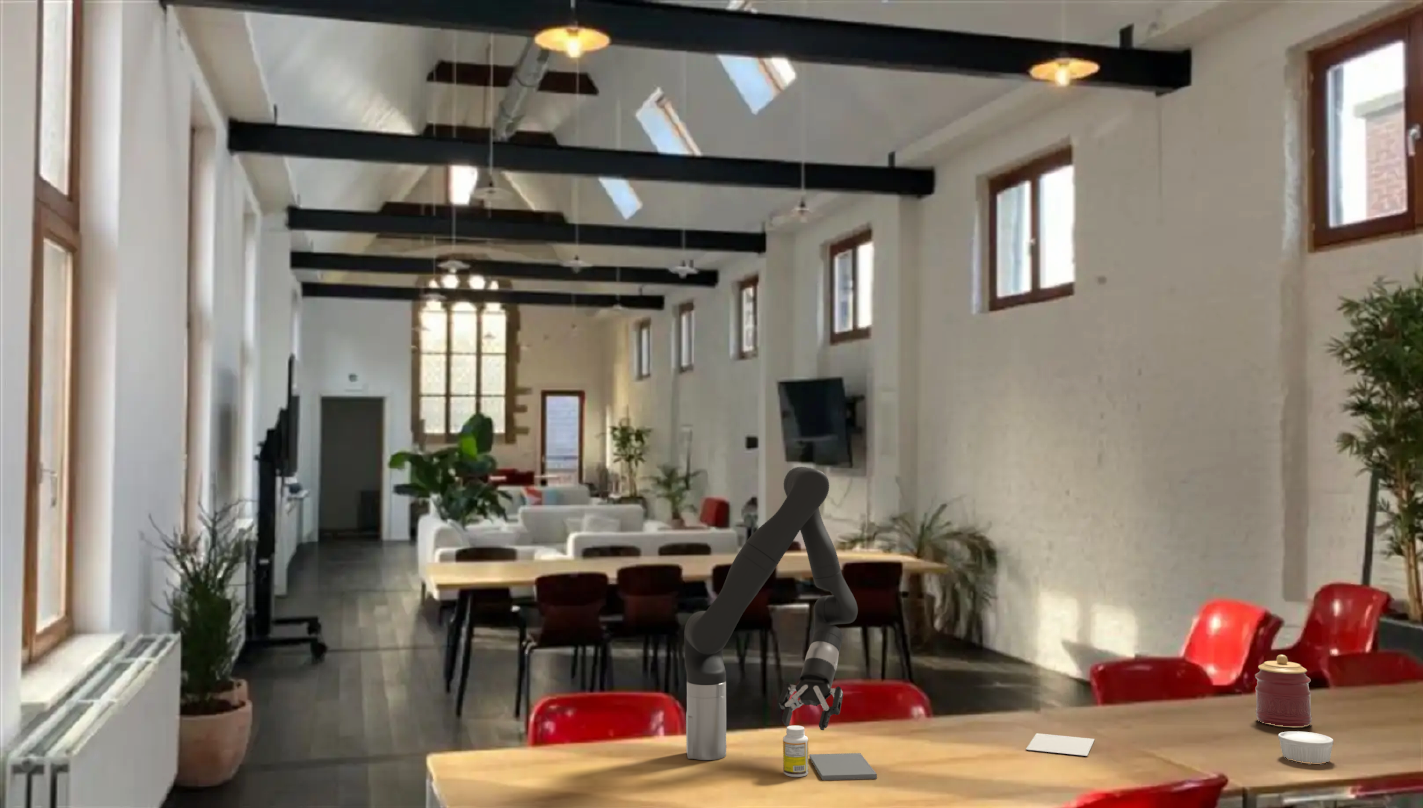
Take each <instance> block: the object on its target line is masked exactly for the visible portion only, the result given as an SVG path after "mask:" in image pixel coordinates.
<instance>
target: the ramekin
mask: <svg viewBox="0 0 1423 808" xmlns="http://www.w3.org/2000/svg"><path fill="white" fill-rule="evenodd" d="M1277 736H1278V737H1277V738H1278V740H1279V744H1280V749H1281V753H1282V756H1283V757H1284V758H1285V757H1286V758H1288V759H1293V760H1296V761H1301V762H1302V761H1303V762H1310V763H1311V762H1312V763H1322V762H1328V763H1329V762H1330V760H1331V757H1332V755H1331V754H1332V751H1333V750H1332V749H1333V745H1334V739H1333V738H1332V737H1330V736H1328V735H1325V734H1321V733H1316V732H1311V731H1310V732H1308V731H1299V730H1297V731H1284V732H1283V731H1282V732H1280V733H1278V735H1277ZM1286 758H1285V759H1286Z"/></svg>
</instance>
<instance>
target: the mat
mask: <svg viewBox="0 0 1423 808" xmlns="http://www.w3.org/2000/svg"><path fill="white" fill-rule="evenodd" d="M810 759H811V761H812V762H811V761H810V762H811V764H812V763H813V764H812V765H814V766H815V767H814V766H813V767H814V769H815V770H817V771H816V772H817V774H818V776H819V777H820V779H821V780H822V781H839V780H840V781H843V780H846V781H847V780H872V779H873V780H875V779H878V773H877V772H876V771H875V770H874V769H873V767H872V766H871V765H870V764H869V762H868V761H867V760H866V758H865V757H864V756H863V754H862V753H860V752H857V753H856V752H852V753H851V752H849V753H843V752H842V753H811V754H809V753H808V760H810Z"/></svg>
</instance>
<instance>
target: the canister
mask: <svg viewBox="0 0 1423 808" xmlns="http://www.w3.org/2000/svg"><path fill="white" fill-rule="evenodd" d="M1257 668H1258V669H1259V672H1257V673H1255V674H1254V677H1255V679H1256V680H1257V681H1256V683H1257V684H1256V686H1255V698H1256V700H1255V702H1256V703H1255V706H1256V707H1255V708H1256V710H1255V716H1256V720H1257V719H1258V720H1259V721H1261V722H1264V723H1271V724H1275V725H1283V726H1304V725H1308V724H1310V723H1312V721H1313V720H1312V713H1311V712H1312V710H1311V709H1312V708H1311V707H1312V706H1311V694H1312V691H1310V687H1309V683H1310V682H1311V678H1310V677H1308V676H1307V674H1306V673H1307V672H1308V670H1307V668H1305V667H1303V666H1302V664H1300V663H1297V662H1292V661H1289V659H1288V656H1286V655H1285V654H1278V655H1277V656H1276V659H1275V660H1267V661H1264V662H1263V663H1262V664H1259V665H1258V667H1257ZM1259 721H1258V722H1259Z"/></svg>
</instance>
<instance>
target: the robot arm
mask: <svg viewBox="0 0 1423 808" xmlns="http://www.w3.org/2000/svg"><path fill="white" fill-rule="evenodd" d="M783 490H784V493H785V496H786V497H785V500H784V501H783V502H782V504H781V506H780V507H779V508H778V510H777V511H776V513H774V515H772V516H771V517H770V518H769V519H767V521H766V522H764V523H763V524H762V525H760V527H758V528H757V529H756V530H755V531H754V532H753V533H752V534H751V535H750V536H749V537H748V539H747V540H746V541H745V543H744V544H743V546H742V547H741V548H740V550H739V552H737V555H736V557H735V558H734V559H733V562H732V564H731V566H730V567H729V570H728V573H727V576H726V579H725V581H724V583H723V586H722V588H721V590H720V592H719V593H718V595H717V596H716V598H715V599H714V601H712V603H711V605H710V606H709V607H708V608H707V609H706V610H700V611H697V612H694V613H693V614H692V615H691V616H690V617H689V618H688V619H687V621H686V624H685V626H684V634H683V636H684V639H683V640H684V666H685V671H686V713H685V714H686V715H685V719H686V720H685V723H686V724H685V728H686V731H685V732H686V735H685V736H686V737H685V738H686V740H685V741H686V742H685V743H686V745H685V747H686V750H685V751H686V758H687V759H688V760H689V759H692V760H693V759H694V760H700V761H711V760H712V761H713V760H719V759H723V758H725V757H726V756H727V670H726V667H725V665H724V664H725V663H724V654H723V653H724V652H723V649H724V647H725V646H726V645H727V643H728V641H729V640H730V638H731V636H732V634H733V632H734V630H735V628H736V627H737V624H738V623H739V621H740V619H741V617H742V615H743V614H744V613H745V611H746V609H747V608H748V607H749V605H750V604H751V603H752V601H753V600H754V598H755V597H756V596H757V595H758V593H759V591H761V589H762V587H763V586H764V585H765V583H766V582H767V581H768V579H769V578H770V577H771V575H772V574H773V572H774V571H775V569H776V568H777V567H778V564H779V563H780V561H781V560H782V559H783V557H784V555H785V553H786V552H787V551H788V549H789V548H790V547H791V545H792V543H793V542H794V540H795V539H796V537H797V535H798V534H799V532H800V533H801V534H800V535H801V537H802V540H803V543H804V546H805V551H806V554H807V558H808V562H809V567H810V571H811V575H812V578H813V582H814V585H815V587H816V588H818V589H821V590H824V591H825V590H826V591H828V592H830V593H831V594H832V595H822V596H821V597H819V598H818V599H816V602H815V603H814V606H813V619H814V621H813V622H814V625H813V628H814V629H813V636H812V638H811V643H810V645H809V648H808V650H807V652H806V655H805V659H804V662H803V666H802V670H801V674H800V677H799V681H798V683H797V684H791V683H790V682H789V681H786V682H784V686H783V687H782V690H781V693H780V696H779V699H778V701H777V702H778V705H779V706H780V709H781V710H783V713H782V717H781V721H782V723H783V725H784V726H785V727H788V726H790V723H791V720H792V716H793V711H795V710H796V709H798V708H801V706H813V707H818V706H819V705H821V707H822V711H821V713H820V714H821V715H820V717H819V718H820V719H819V723H818V727H819V730H820V731H825V729H827V727H828V726H829V723H830V718H831V716H833V715H836V716H838V715H840V713H841V709H842V703H843V697H844V693H843V690H842V688H841V686H839V685H838V686H836V687H834V688H832V686H833V681H834V678H835V674H836V672H837V667H838V663H839V655H840V651H841V648H842V644H843V640H844V634H843V632H842V630H841V628H839V627H838V626H837V625H846V624H847V625H848V624H851V623H854V622H855V620H856V619H857V616H858V614H859V613H858V612H859V608H858V604H857V600H856V599H855V597H854V594H853V593H852V591H851V589H850V587H849V586H848V584H847V582H846V580H845V577H844V576H843V574H842V569H841V566H840V565H841V564H840V561H839V556H838V553H837V551H836V548H835V545H834V543H833V541H832V539H831V537H830V534H829V532H828V531H827V528H826V526H825V524H824V521H823V519H822V515H821V510H820V507H821V505H822V504H823V503H824V502H825V500H826V499H827V497H828V495H829V491H830V481H829V478H828V476H827V475H826V474H825V473H824V472H823V471H822V470H819V469H817V468H812V467H808V466H807V467H806V466H796V467H793V468H792V469H791V470H789V471H788V472H787V473H786V475H785V478H784V480H783ZM794 692H795V693H794ZM831 695H832V698H833V700H832V706H829V705H828V703H827V701H826V700H827V699H828V698H829V697H830V696H831ZM790 697H791V698H790Z"/></svg>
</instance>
